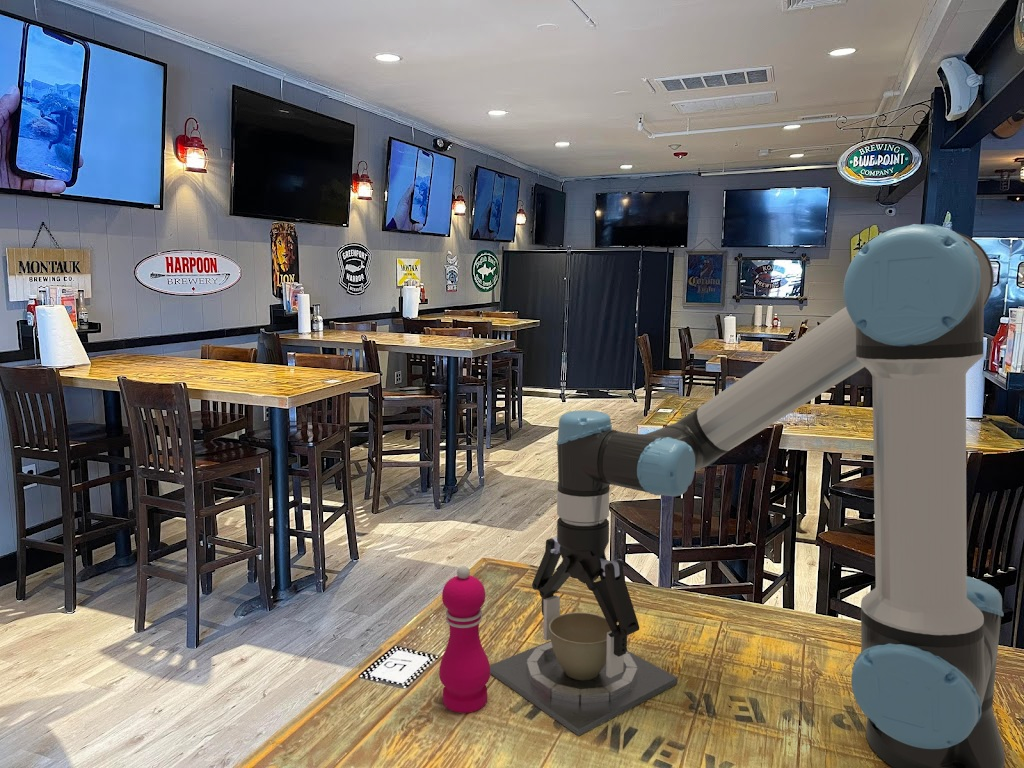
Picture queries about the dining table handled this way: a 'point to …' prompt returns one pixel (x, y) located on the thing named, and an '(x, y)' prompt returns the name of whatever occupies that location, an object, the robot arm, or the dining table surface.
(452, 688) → the pepper mill
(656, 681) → the ring plate
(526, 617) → the dining table surface
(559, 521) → the robot arm
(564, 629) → the flower pot
